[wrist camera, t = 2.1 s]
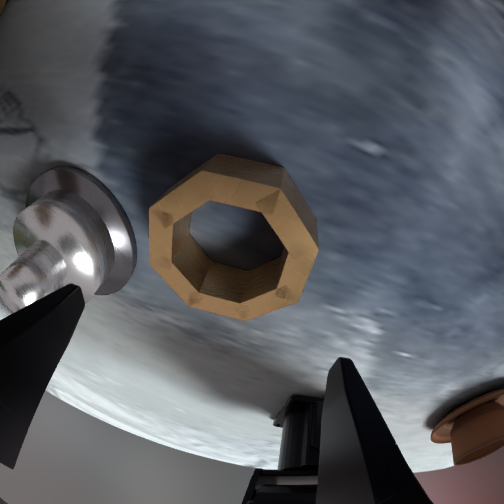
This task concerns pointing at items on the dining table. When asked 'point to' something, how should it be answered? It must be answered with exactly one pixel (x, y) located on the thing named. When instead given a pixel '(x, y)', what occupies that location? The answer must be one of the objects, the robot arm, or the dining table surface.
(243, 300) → the ring
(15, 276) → the silver flanged knob
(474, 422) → the cup and saucer
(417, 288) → the dining table surface
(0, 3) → the plant pot
